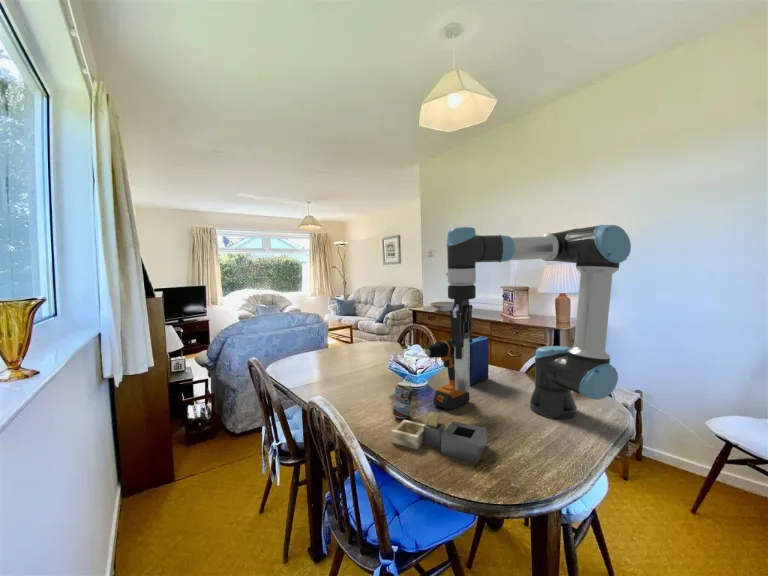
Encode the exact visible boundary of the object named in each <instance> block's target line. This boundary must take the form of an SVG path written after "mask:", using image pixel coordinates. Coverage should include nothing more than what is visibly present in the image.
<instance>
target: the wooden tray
mask: <svg viewBox="0 0 768 576" xmlns="http://www.w3.org/2000/svg"><path fill="white" fill-rule="evenodd" d="M425 425H426V423H420V422H417V421H411V420H407V419H403V420H402V421H401V422H399V423H398V424H397V425H396V426H395V427H394V428H393V429H392V430H391V431H390V433H391V436H390V437H391V444H392V443H393V444H396V445H399V446H404V447H407V448H411V449H414V450H419V448H421V446H422V445H423V444H424V429H423V427H424V426H425Z"/></svg>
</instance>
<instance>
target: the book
mask: <svg viewBox="0 0 768 576" xmlns="http://www.w3.org/2000/svg"><path fill="white" fill-rule="evenodd" d="M471 340H473V342H472V343H470V386H472V385H476V384H479V383H480V382H482V381H485V380H487V379H489V378H490V375H489V371H490V370H489V347H490V345H489V344H490V343H489V337H486V336H483V335H482V336H479V337H476V338H471Z"/></svg>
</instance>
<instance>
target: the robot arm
mask: <svg viewBox="0 0 768 576" xmlns="http://www.w3.org/2000/svg"><path fill="white" fill-rule="evenodd" d="M446 237H447V238H446V249H447V250H446V251H447V272H446V273H445V275H446V276H447V283H448V284H449V285H448V286H447V298H448V299H449V300H454V301H453V305H452V309H450V310H449V315H450V337H451V346H452V347H454V361H455V370H461V371H465V347H463V346H464V332H469V365H470V343H472V342H473V340H472V339H473V337H472V336H473V335H472V333H473V331H472V330H473V325H472V324H473V322H472V321H473V308H474V307H473V305H472V304H470V300H475V298H476V296H477V294H476V292H477V290H476V288H477V287H476V285H475V283H476V281H477V278H476V277H477V276H476V266H477V265H476V264H477V263H502V262H509V261H521V260H522V261H523V260H525V261H526V260H543V261H544V262H559V263H560V262H561V263H571V264H575V268H576V269H577V271H578V272H580V277H579V286H578V287H579V289H578V297H577V298H578V300H577V309H576V320H575V321H576V322H575V329H574V330H575V332H574V340H573V342H574V343H573V346H572V347H569V346H563V345H562V346H561V345H549V346H548V345H546V346H540V347H537V348H536V349H535V357H534V379H535V380H534V381H535V383H534V384H535V385H534V389H533V390H532V391H533V392H532V394H531V396H530V400H529V408H530V410H531V411H532V412H534V413H536V414H537V415H540V416H543V417H545V418H546V417H547V418H551V419H559V420H560V419H561V420H562V419H563V420H564V419H572V418H575V416H577V412H578V411H577V405H576V401H575V399H574V396H573V393H572V392H574V393H576V394H578V395H580V396H582V397H584V398H589V399H592V400H603V399H605V398H607V397H608V396H610V394H612V393H613V392H614V390H615V389H616V386H617V384H618V381H619V380H618V379H619V374H618V371H617V369H616V367H614V366H613V365H612V364H611V362H610V361H611V356H610V354H608V352H606V344H607V335H608V334H607V333H608V325H609V324H608V321H609V312H610V304H611V292H612V283H613V275H614V274H615V273H617V271H619V269H620V263H623V262H625V261H626V260H628V257H629V256H630V253H631V250H632V249H631V246H632V244H631V238H630V237H629V235H628V233H627V232H626V231H625V229H624V228H622V227H620V226H619V225H615V224H600V225H594V226H586V227H581V228H574V229H568V230H564V231H559V232H553V233H550V232H549V233H544V234H542V235H541V236H527V237H526V236H525V237H524V236H522V237H520V236H518V237H510V236H509V235H502V234H498V235H496V234H495V235H493V234H492V235H478V234H477V233H476V229H475V227H471V226H470V227H469V226H461V227H452V228H450V229H449V230H448V231H447V235H446Z"/></svg>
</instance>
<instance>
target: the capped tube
mask: <svg viewBox="0 0 768 576" xmlns="http://www.w3.org/2000/svg"><path fill="white" fill-rule="evenodd" d="M463 347H465V371H461V370H455V389H456V390H457V391H461V392H466V391H467V392H469V391H470V390H471V387H470V386H471V385H470V365H469V332H464V346H463Z"/></svg>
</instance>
